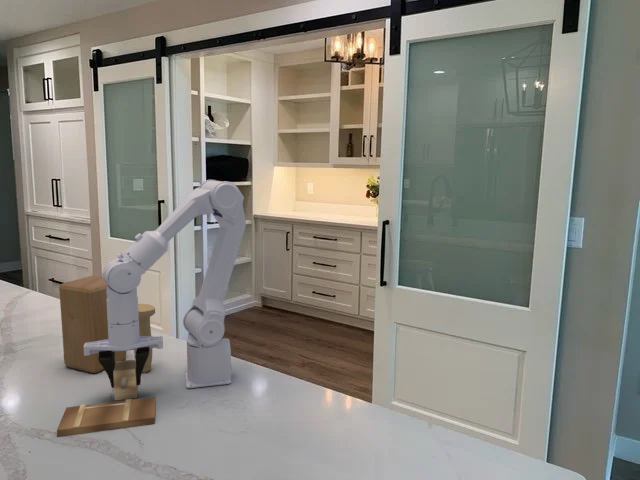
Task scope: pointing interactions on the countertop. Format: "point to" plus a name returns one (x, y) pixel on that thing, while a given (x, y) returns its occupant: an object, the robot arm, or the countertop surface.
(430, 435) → the countertop surface
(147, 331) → the handle
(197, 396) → the countertop surface
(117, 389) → the pale wood holed block
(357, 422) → the countertop surface
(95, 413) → the walnut board
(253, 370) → the countertop surface
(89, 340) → the wooden block
